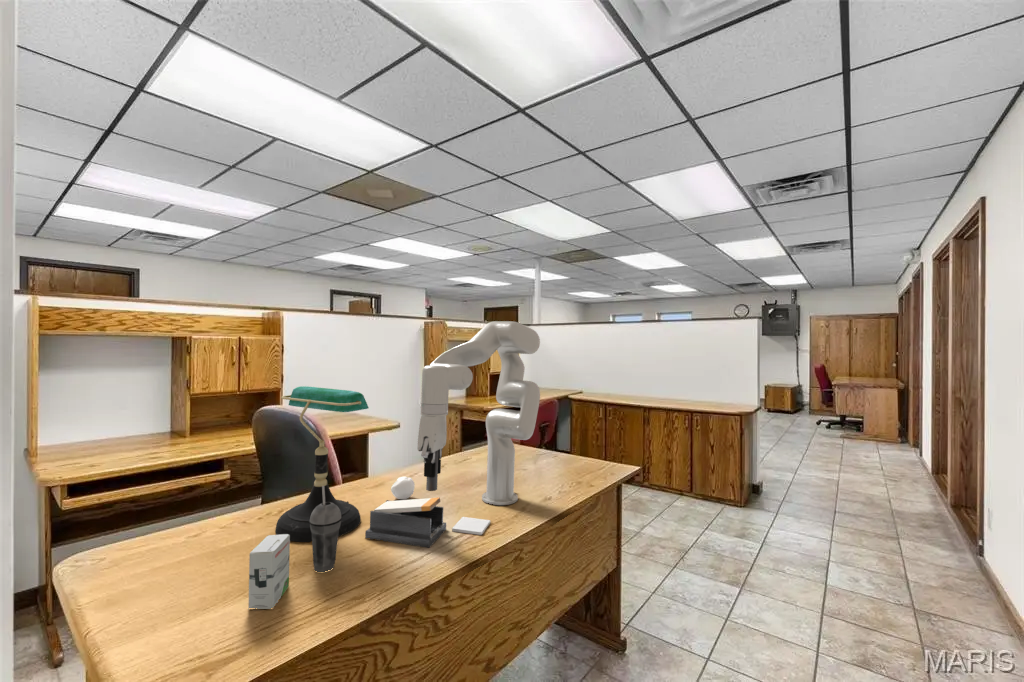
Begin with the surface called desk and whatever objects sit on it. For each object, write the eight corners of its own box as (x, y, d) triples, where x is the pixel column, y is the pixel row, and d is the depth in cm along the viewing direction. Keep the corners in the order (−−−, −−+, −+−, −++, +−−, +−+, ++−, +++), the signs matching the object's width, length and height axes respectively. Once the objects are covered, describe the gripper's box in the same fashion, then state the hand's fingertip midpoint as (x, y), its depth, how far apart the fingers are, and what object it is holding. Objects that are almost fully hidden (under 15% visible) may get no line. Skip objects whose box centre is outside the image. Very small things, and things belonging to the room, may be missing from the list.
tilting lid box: (365, 538, 124) (366, 512, 124) (387, 521, 135) (387, 498, 135) (429, 547, 119) (429, 521, 119) (446, 529, 131) (446, 505, 131)
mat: (462, 519, 139) (462, 516, 139) (490, 522, 137) (490, 520, 137) (451, 531, 130) (452, 528, 130) (481, 535, 128) (481, 532, 128)
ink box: (266, 587, 98) (268, 533, 98) (289, 586, 99) (291, 533, 99) (246, 611, 90) (248, 552, 90) (272, 610, 90) (273, 551, 90)
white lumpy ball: (403, 493, 160) (403, 471, 160) (419, 497, 156) (419, 475, 156) (386, 499, 153) (387, 477, 153) (402, 504, 149) (403, 481, 149)
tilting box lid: (374, 514, 126) (374, 509, 126) (387, 505, 133) (386, 501, 133) (430, 510, 122) (429, 506, 122) (440, 501, 129) (439, 497, 129)
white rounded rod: (428, 487, 127) (430, 444, 127) (438, 488, 126) (440, 445, 127) (424, 490, 124) (425, 447, 124) (434, 491, 124) (436, 448, 124)
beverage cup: (347, 563, 109) (349, 482, 109) (325, 578, 103) (328, 491, 103) (323, 558, 112) (325, 478, 112) (300, 572, 105) (303, 487, 105)
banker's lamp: (381, 519, 136) (385, 388, 136) (320, 551, 116) (325, 396, 116) (318, 504, 148) (322, 382, 148) (252, 530, 127) (256, 388, 127)
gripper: (433, 404, 134) (431, 466, 134) (408, 412, 118) (406, 482, 118) (457, 406, 133) (455, 468, 132) (435, 414, 117) (433, 485, 117)
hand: (432, 474), depth 125 cm, fingers closed on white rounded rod, 3 cm apart
